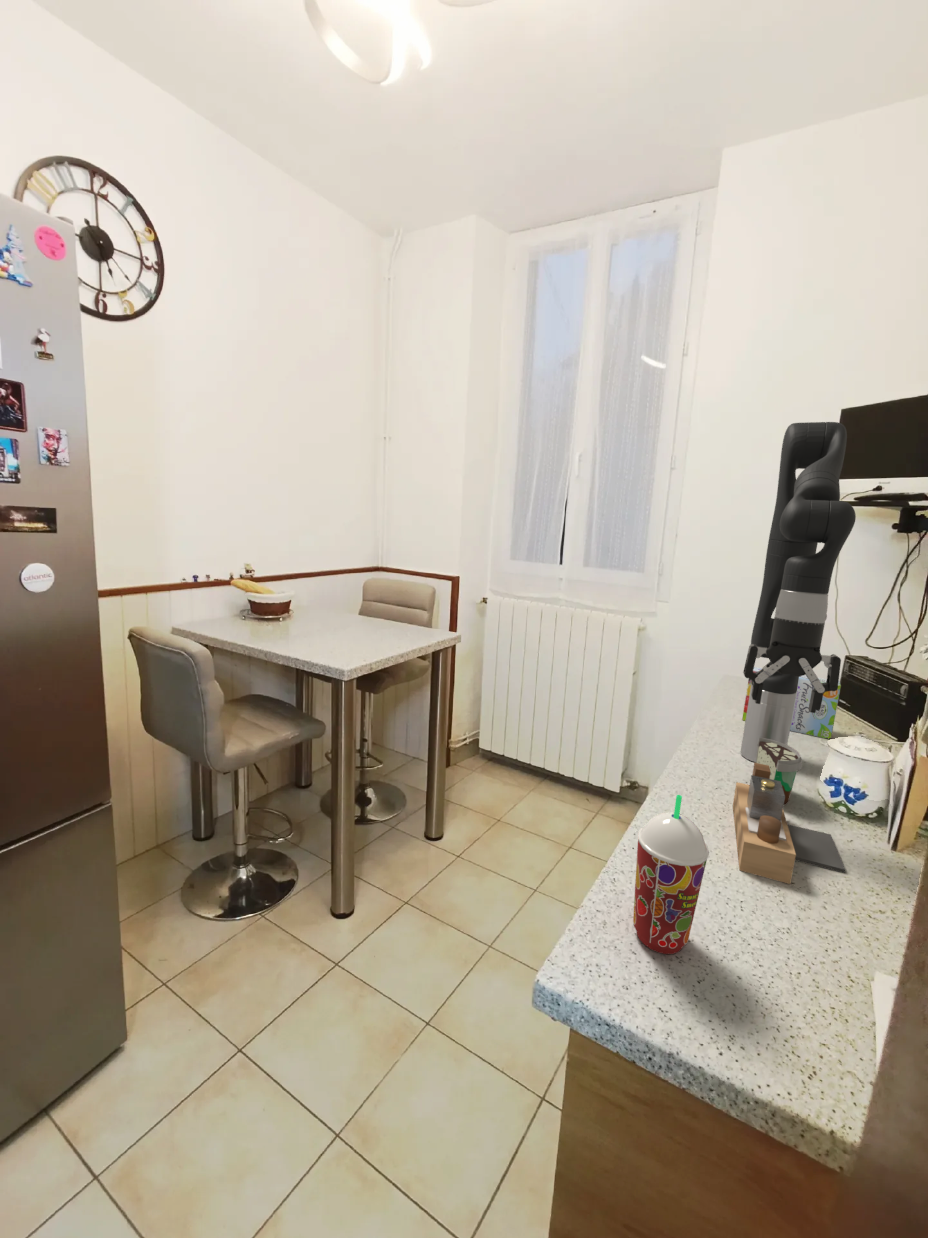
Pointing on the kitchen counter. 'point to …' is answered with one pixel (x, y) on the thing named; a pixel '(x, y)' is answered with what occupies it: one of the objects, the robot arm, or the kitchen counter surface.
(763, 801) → the grey box
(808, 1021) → the kitchen counter surface
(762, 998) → the kitchen counter surface
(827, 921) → the kitchen counter surface
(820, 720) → the snack box
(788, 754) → the food container
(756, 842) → the plane body
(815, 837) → the mat
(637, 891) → the smoothie
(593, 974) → the kitchen counter surface
